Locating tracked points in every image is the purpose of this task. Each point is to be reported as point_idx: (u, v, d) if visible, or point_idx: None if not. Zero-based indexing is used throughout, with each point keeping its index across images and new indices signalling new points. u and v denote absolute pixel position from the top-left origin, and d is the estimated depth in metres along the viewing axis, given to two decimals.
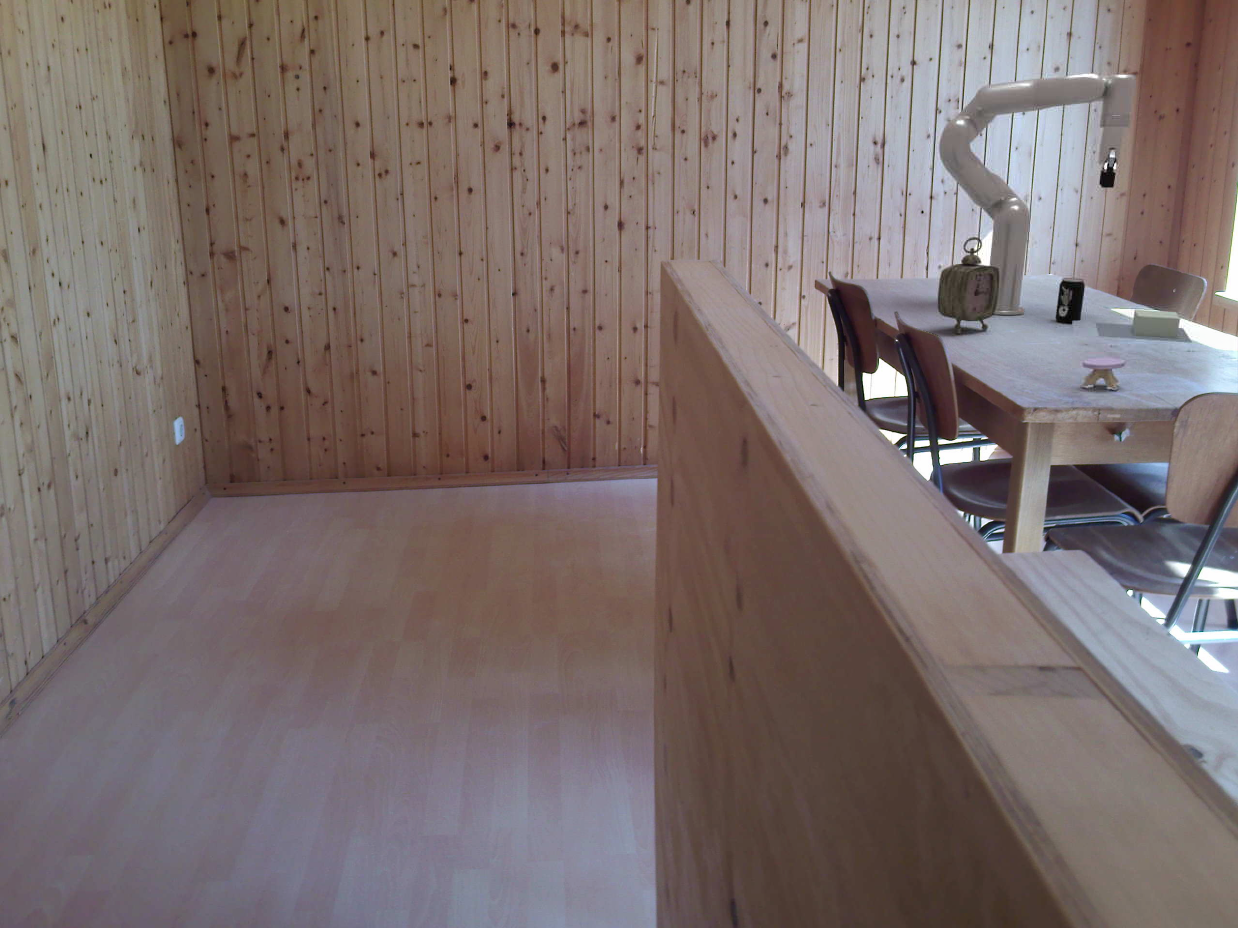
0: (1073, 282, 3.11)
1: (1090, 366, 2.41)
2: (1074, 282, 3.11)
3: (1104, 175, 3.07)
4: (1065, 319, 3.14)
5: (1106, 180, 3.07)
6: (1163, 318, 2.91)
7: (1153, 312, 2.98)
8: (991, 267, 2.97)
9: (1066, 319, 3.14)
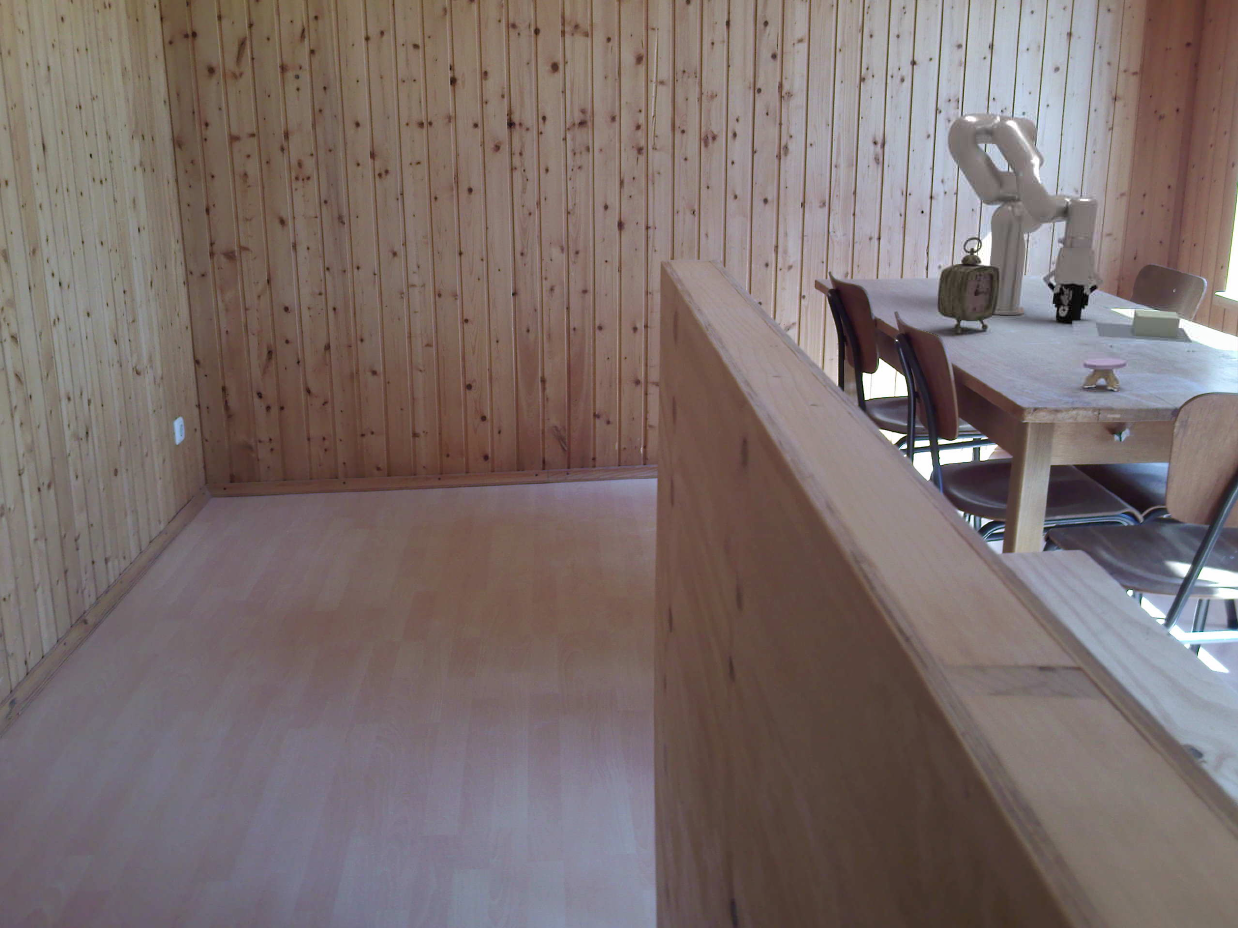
0: None
1: (1091, 366, 2.41)
2: None
3: (1086, 297, 3.12)
4: (1065, 319, 3.14)
5: None
6: (1163, 318, 2.91)
7: (1153, 312, 2.98)
8: (991, 267, 2.97)
9: (1066, 319, 3.14)
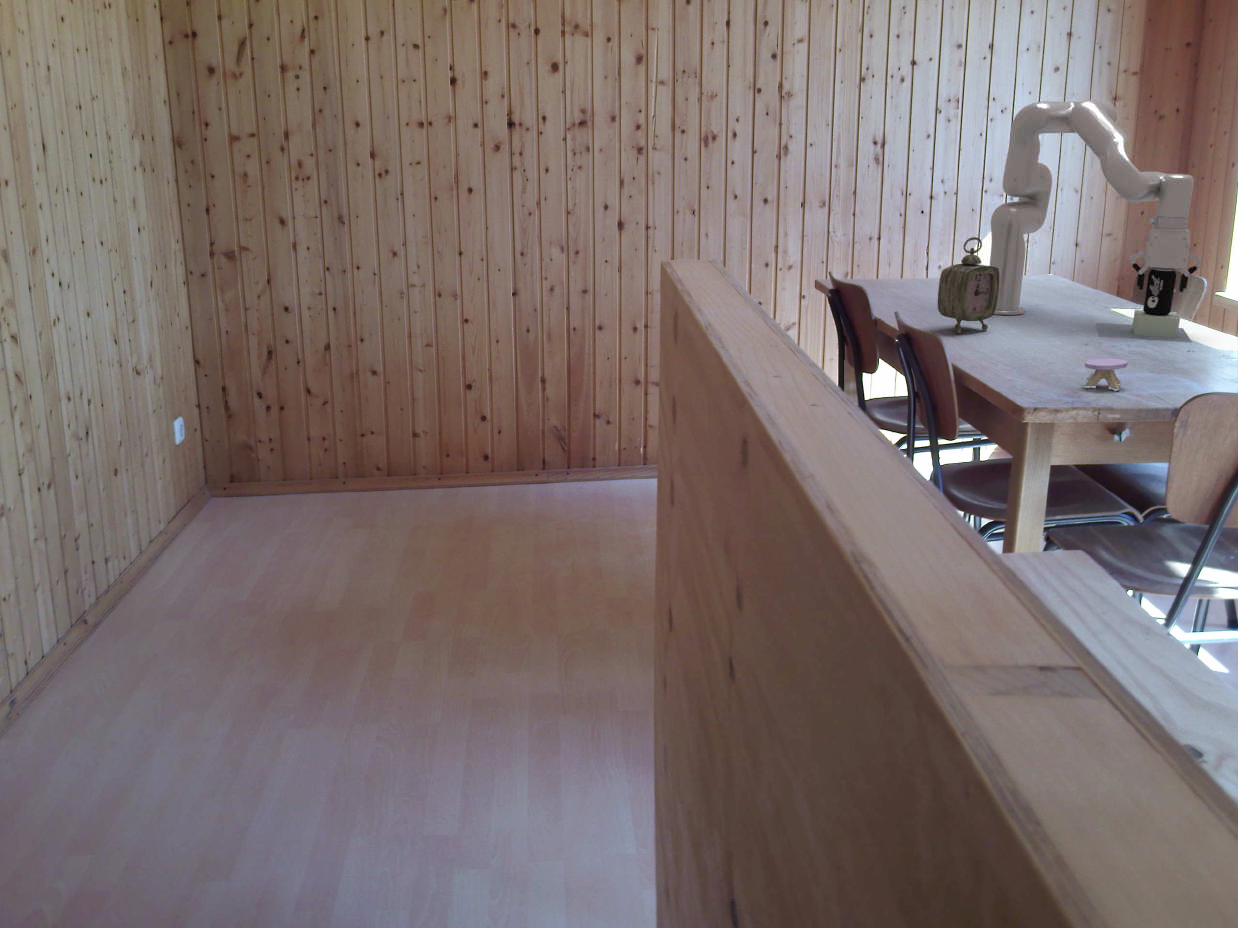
0: (1164, 271, 2.90)
1: (1092, 367, 2.41)
2: (1166, 271, 2.90)
3: (1184, 279, 2.90)
4: (1155, 311, 2.93)
5: None
6: (1163, 318, 2.91)
7: None
8: (991, 267, 2.97)
9: (1156, 311, 2.93)
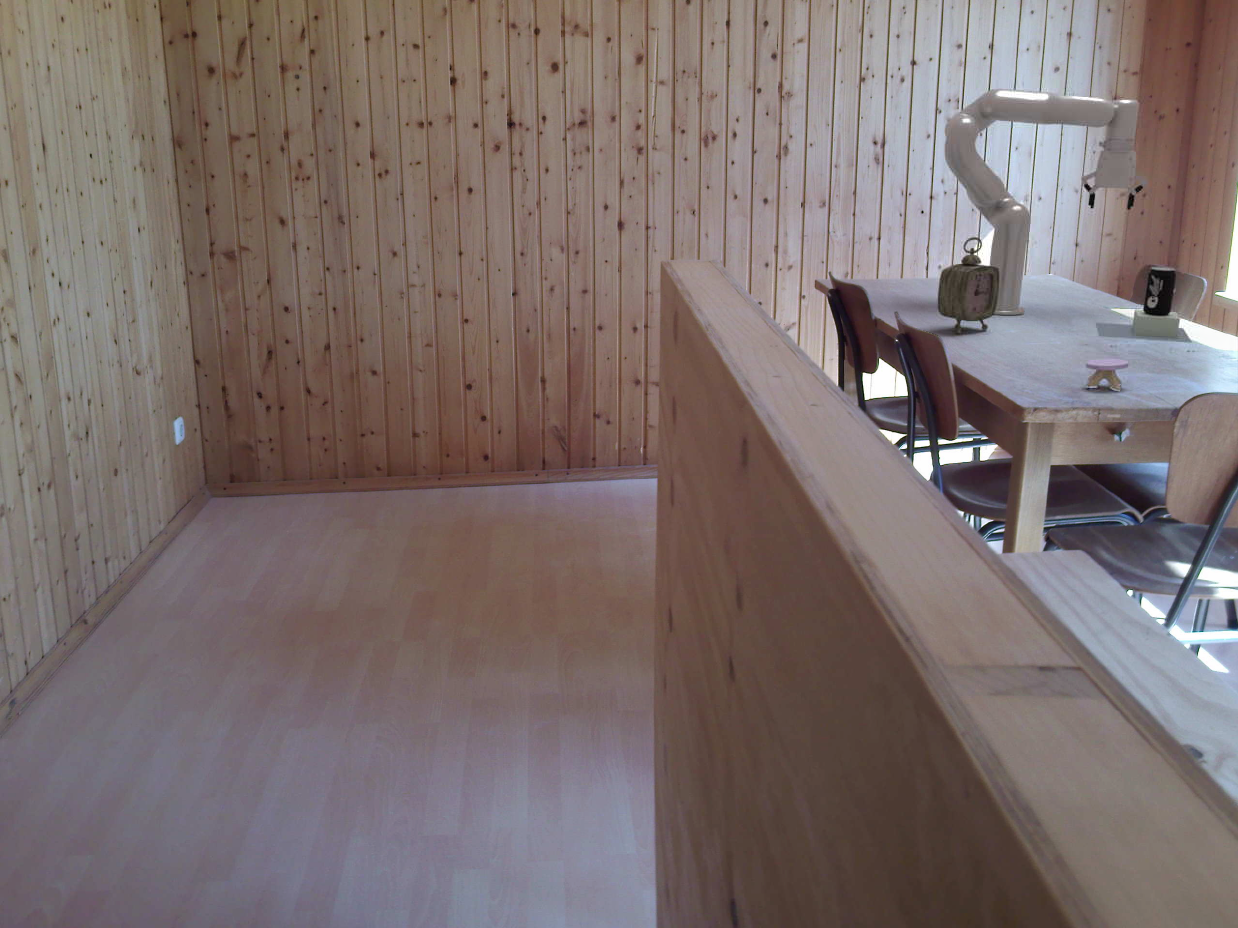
0: (1164, 271, 2.90)
1: (1093, 367, 2.41)
2: (1165, 271, 2.90)
3: (1131, 198, 3.15)
4: (1154, 311, 2.93)
5: (1133, 202, 3.16)
6: (1163, 318, 2.91)
7: None
8: (991, 267, 2.97)
9: (1156, 311, 2.93)
